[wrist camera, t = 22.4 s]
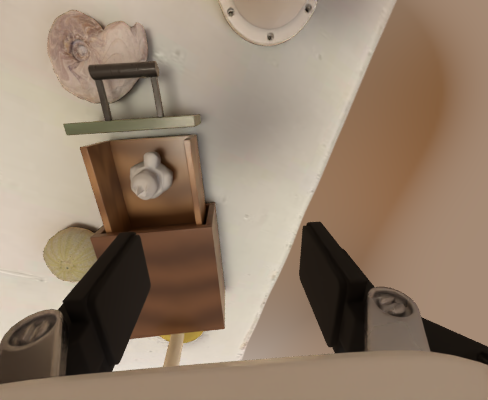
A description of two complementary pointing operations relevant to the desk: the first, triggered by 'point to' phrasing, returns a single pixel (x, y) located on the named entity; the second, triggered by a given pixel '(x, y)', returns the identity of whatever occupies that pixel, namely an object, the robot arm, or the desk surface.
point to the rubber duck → (150, 177)
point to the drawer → (132, 152)
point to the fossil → (93, 53)
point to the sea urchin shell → (70, 254)
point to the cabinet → (179, 278)
